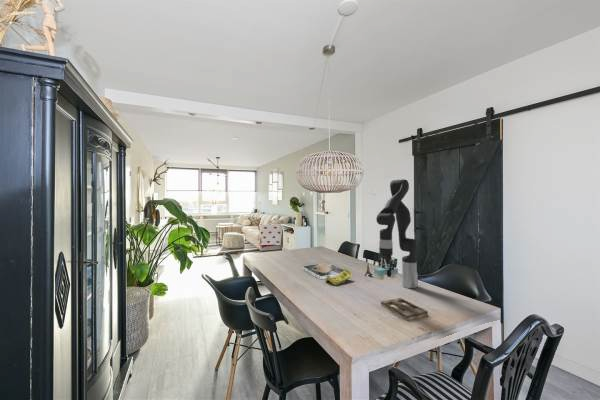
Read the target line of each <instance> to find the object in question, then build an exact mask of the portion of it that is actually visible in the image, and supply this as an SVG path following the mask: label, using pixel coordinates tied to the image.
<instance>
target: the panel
mask: <svg viewBox="0 0 600 400" xmlns="http://www.w3.org/2000/svg"><path fill="white" fill-rule="evenodd" d="M373 271H374V272H373V273H374V274H373V275H376V276H377V279H378V280H385V276H387V267H386V266H385V267H383V268H381V267H377V268H374V269H373ZM397 274H399V269H398V267H395V266H394V270H391V277H389V278H390V279H396V275H397Z"/></svg>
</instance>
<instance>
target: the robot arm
mask: <svg viewBox="0 0 600 400" xmlns="http://www.w3.org/2000/svg"><path fill="white" fill-rule="evenodd" d="M409 189H410V183H409V181H408V180H407V179H403V178H402V179H395V180H394V179H393V180H391V181H390V183H389V190H390V193H391V197H390V198H389V199H388V200H387V201H386V203H385V205H384V207H383V208H382V210H381V211H379V212H378V213H377V215H376V218H375V219H376V223H377V224H378V225H380V226H386V228H382V229H380V230H379V244H378V246H379V248H378V250H379V252H378V253H379V256H377V264H378V267H379V268H383V267H387V275H386V276H387V277H388V278H390V277H391V270H394V267H395V265H396V260H395V259H394V260H393V259H392V256H393V251H394V250H393V248H394V247H393V230H394V226H395V222H396V225H397V232H398V246H399V249H400V251H403V252H406V253H407V252H409V254H408V255H405V256H402V258H401V259H402V260H401V265H402V266H401V269H402V271H401V272H402V274H401V278H402V280H401V281H402V284H401V285H402V287H403V288H406V289H407V288H408V289H416V288H418V287H419V276H418V275H419V273H418V271H417V268H418V266H417V262H418V261H417V260H418V259H417V258H418V246H419V245H418V241H417V239H415V238H408V237H407V233H406V232H407V230H408V227H409V226H410V223H411V220H412V217H411V213H410V212H411V211H410V210H409V207H408V206H406V205H405V204H404V202H403V201H402V200H403V199H404V197H405V196H406V195H407V193H408V192H409Z"/></svg>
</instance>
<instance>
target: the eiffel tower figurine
mask: <svg viewBox="0 0 600 400" xmlns="http://www.w3.org/2000/svg"><path fill="white" fill-rule="evenodd" d="M365 273H366V274H365ZM365 273H364V277H367V276H366V275H367V274H369V275H368V276H369V278H371V277H373V276H372V275H375V276H377V275H376V274H373V273H371V271H370V267H369V264H367V268H366V272H365ZM375 276H374V277H375Z"/></svg>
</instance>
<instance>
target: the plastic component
mask: <svg viewBox="0 0 600 400" xmlns="http://www.w3.org/2000/svg"><path fill="white" fill-rule="evenodd" d="M352 275H353V274H352V272H351V271H350V270H349V269H347V268H345V269H344V270H342V271H341V272H340V273H339V274H336V275H333V276H330V275H327V276H326V277H325V280H324V281H325V282H326V283H327V282H330V283H331V284H332V285H334V286H337V285H340V284H344V283H345V282H347V280H349V279H350V278H352Z"/></svg>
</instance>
